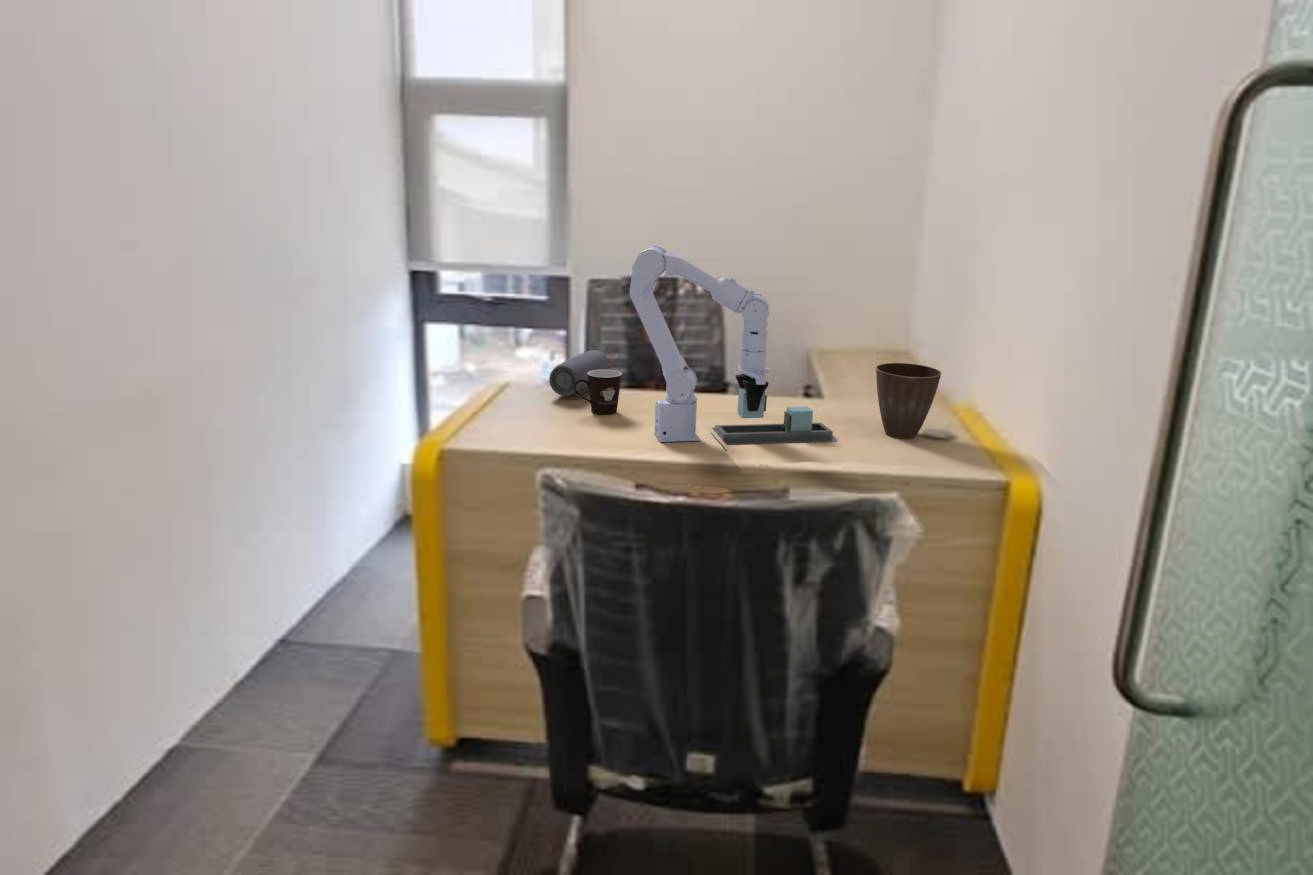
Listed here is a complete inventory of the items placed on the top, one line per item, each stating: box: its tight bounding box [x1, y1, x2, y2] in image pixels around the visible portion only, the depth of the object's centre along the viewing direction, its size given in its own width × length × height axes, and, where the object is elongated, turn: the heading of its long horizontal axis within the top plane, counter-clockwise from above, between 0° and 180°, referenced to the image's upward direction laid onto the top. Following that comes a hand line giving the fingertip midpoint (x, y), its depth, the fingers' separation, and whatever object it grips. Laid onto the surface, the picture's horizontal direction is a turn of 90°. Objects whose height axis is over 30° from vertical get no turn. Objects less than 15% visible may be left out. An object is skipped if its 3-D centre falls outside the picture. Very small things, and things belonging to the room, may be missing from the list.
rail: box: [710, 422, 838, 452], centre depth 216 cm, size 26×14×3 cm, turn 101°
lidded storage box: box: [737, 388, 768, 419], centre depth 213 cm, size 6×4×6 cm
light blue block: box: [783, 406, 814, 431], centre depth 216 cm, size 6×4×6 cm
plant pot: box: [875, 362, 942, 439], centre depth 222 cm, size 15×15×16 cm
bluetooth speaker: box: [548, 349, 611, 397], centre depth 255 cm, size 23×9×10 cm, turn 161°
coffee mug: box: [573, 369, 623, 416], centre depth 235 cm, size 12×9×10 cm
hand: (750, 408), depth 213 cm, fingers closed on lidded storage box, 4 cm apart
